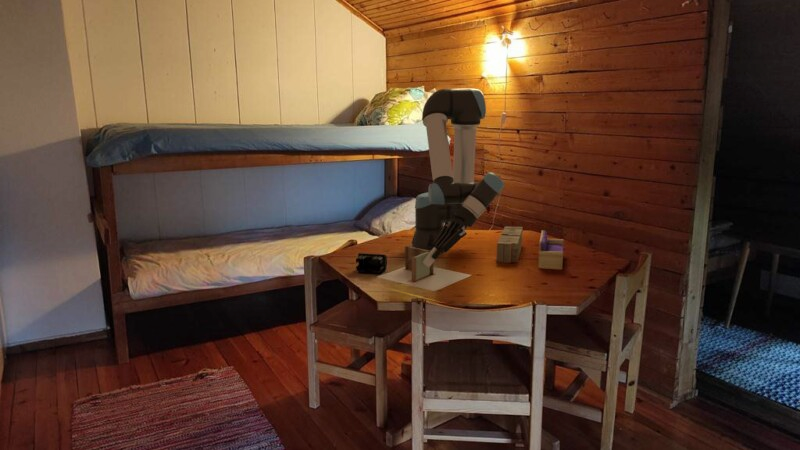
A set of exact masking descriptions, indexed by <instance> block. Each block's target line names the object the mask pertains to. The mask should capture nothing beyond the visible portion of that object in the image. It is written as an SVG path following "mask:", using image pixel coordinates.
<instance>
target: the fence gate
mask: <svg viewBox="0 0 800 450" xmlns="http://www.w3.org/2000/svg"><path fill="white" fill-rule="evenodd" d="M429 253H430V252H425V253H423V254H420V255H418V256H415V257H412V281H416V280H418V279H421V278H423V277H425V276H427V275H429V274H430V267H427V266H426V265H425V264H424V263H423V262H422V261H423V260H424V259H425V257H426V256H427V255H428V254H429Z"/></svg>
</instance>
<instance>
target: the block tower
mask: <svg viewBox="0 0 800 450" xmlns="http://www.w3.org/2000/svg"><path fill="white" fill-rule="evenodd" d="M523 229H524V227H523V226H504V228H503V230H502V232H501V235H500V236H499V238H498V240H497V242H496V263H497V262H498V263H512V262H513V263H518V260H519V259H520V254H521V251H522V244H523Z"/></svg>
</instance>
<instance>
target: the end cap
mask: <svg viewBox="0 0 800 450" xmlns="http://www.w3.org/2000/svg"><path fill="white" fill-rule="evenodd" d="M357 256H358V257H357V258H355V263H356V264H357V265H356V266H355V269H356V271H357V272H356V274H359V275H361V274H363V275H374V276H375V275H376V276H380V275H383V273H385V272H386V270H387V266H388V257H387V255H386V254H382V253H365V252H364V253H362V252H358V254H357Z"/></svg>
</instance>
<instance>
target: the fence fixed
mask: <svg viewBox="0 0 800 450" xmlns="http://www.w3.org/2000/svg"><path fill="white" fill-rule="evenodd" d="M430 251H431V250H429V251H428V250H424V249H419V248H414V247H411V245H410V246H409V245H407V246H406V245H405V247H404V254H405V255H404V261H405V265H404V267H405V269H406V270H412V257H415V256H418V255H420V254H423V253H425V252H430ZM433 267H434V262H433V263H432V264H431V266H430V274H429V275H433Z"/></svg>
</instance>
